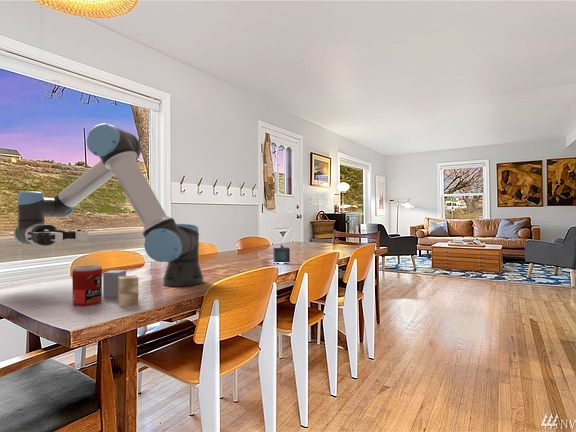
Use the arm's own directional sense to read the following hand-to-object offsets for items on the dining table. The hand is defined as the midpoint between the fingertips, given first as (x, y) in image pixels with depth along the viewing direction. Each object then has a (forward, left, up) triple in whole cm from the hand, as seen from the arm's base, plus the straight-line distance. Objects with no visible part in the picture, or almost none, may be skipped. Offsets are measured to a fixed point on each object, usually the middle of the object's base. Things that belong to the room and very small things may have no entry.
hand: (74, 236), depth 109 cm
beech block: (-17, +10, -20) cm, 28 cm away
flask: (-85, -59, -20) cm, 106 cm away
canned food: (-5, +6, -20) cm, 22 cm away
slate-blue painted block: (-11, -3, -20) cm, 23 cm away
